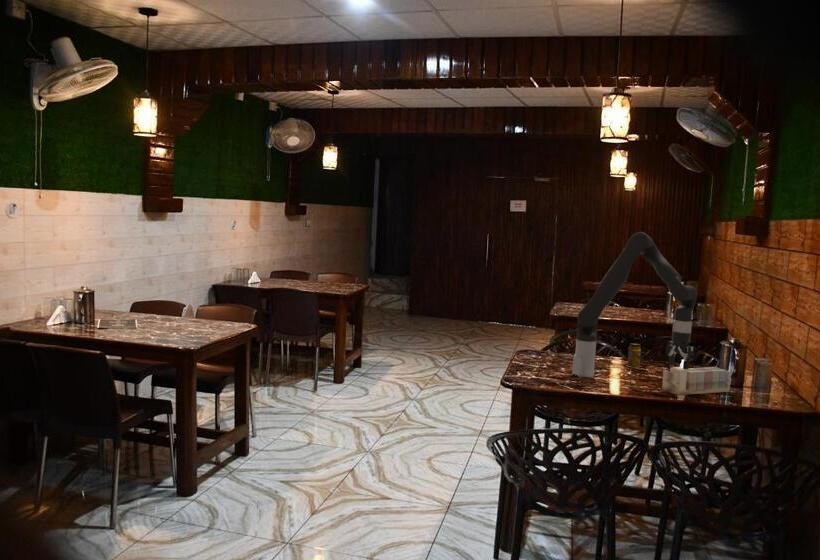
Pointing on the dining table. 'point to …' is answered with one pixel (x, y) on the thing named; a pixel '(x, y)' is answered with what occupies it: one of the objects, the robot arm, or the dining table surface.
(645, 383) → the dining table surface
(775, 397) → the dining table surface
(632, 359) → the condiment
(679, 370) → the cream block
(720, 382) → the pastel slab stack
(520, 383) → the dining table surface
